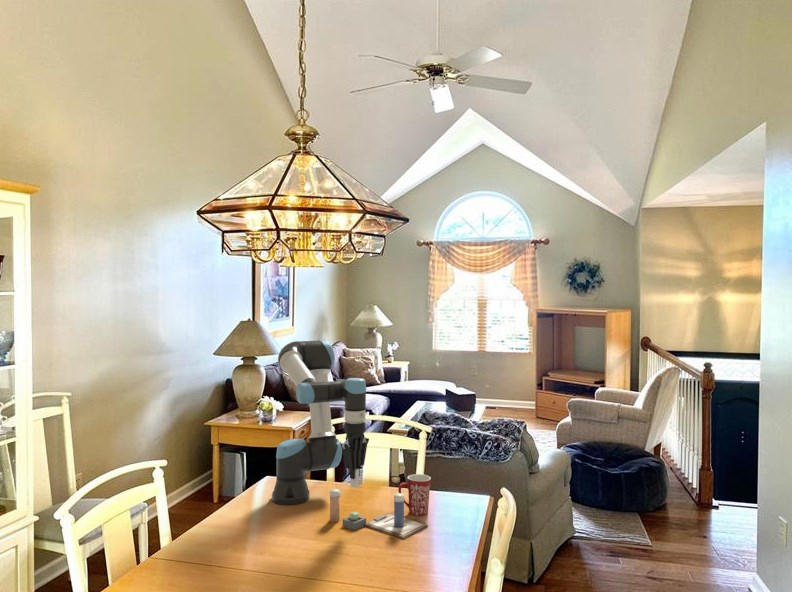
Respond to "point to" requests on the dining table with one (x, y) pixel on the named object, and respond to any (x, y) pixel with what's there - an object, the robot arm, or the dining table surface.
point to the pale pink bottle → (334, 505)
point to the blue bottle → (398, 510)
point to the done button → (354, 516)
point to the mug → (417, 494)
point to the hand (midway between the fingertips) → (354, 486)
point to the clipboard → (387, 526)
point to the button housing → (354, 523)
